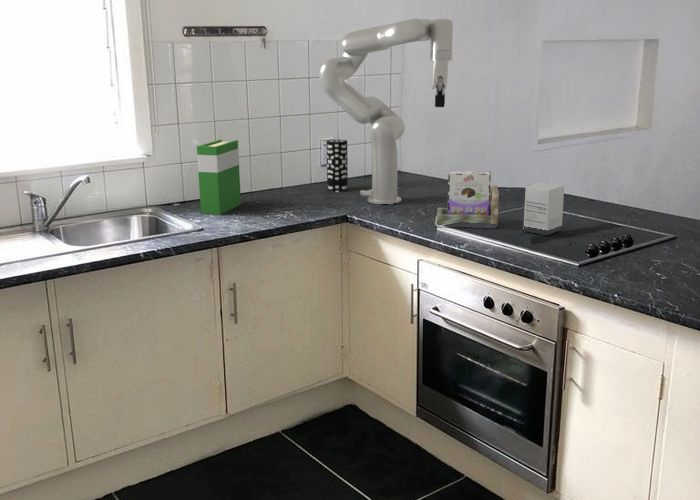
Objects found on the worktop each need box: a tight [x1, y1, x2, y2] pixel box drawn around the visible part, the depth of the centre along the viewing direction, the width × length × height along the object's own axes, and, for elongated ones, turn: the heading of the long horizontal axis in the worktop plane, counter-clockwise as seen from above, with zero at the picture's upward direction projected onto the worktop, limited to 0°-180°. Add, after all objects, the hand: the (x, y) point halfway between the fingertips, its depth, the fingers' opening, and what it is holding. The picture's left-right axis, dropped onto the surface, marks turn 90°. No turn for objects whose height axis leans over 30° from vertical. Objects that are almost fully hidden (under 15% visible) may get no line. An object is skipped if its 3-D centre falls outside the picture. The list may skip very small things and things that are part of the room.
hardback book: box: [196, 139, 242, 216], centre depth 272 cm, size 18×7×24 cm, turn 163°
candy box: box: [447, 170, 492, 215], centre depth 249 cm, size 14×6×16 cm, turn 79°
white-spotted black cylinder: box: [326, 139, 349, 193], centre depth 304 cm, size 8×8×20 cm
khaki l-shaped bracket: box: [434, 184, 500, 226], centre depth 249 cm, size 20×12×12 cm, turn 82°
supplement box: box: [523, 182, 565, 231], centre depth 238 cm, size 9×9×15 cm
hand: (439, 105), depth 268 cm, fingers open, 9 cm apart
